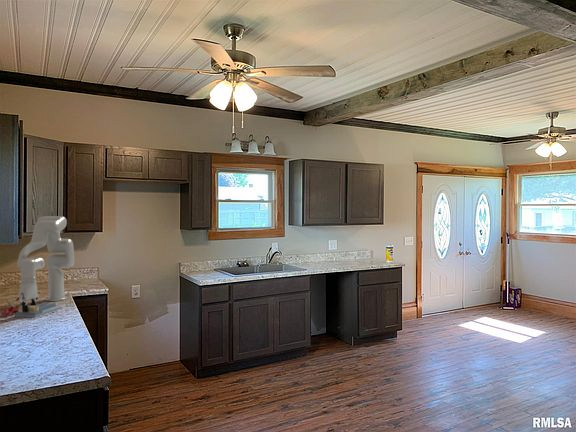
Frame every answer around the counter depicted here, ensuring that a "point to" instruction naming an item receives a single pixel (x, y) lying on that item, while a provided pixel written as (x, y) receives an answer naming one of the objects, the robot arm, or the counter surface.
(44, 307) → the board
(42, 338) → the counter surface
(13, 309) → the toy fire truck
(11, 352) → the counter surface
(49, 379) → the counter surface
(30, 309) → the tan long rectangular block
